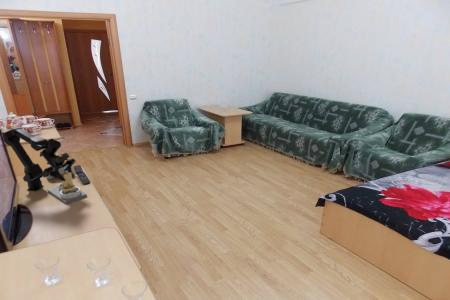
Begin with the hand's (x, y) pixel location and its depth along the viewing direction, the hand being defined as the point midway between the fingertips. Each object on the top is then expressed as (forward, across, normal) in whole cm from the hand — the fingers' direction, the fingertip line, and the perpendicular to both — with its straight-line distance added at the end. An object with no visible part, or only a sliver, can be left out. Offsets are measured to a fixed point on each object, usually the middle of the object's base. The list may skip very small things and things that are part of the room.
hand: (68, 178), depth 161 cm
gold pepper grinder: (+4, 0, +6) cm, 7 cm away
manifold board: (+4, +2, +13) cm, 14 cm away
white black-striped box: (-13, +20, +32) cm, 39 cm away
